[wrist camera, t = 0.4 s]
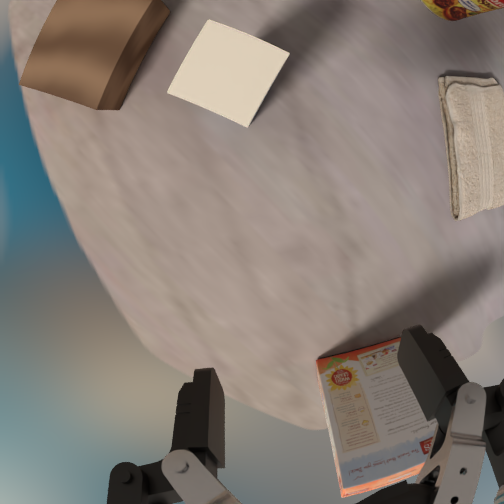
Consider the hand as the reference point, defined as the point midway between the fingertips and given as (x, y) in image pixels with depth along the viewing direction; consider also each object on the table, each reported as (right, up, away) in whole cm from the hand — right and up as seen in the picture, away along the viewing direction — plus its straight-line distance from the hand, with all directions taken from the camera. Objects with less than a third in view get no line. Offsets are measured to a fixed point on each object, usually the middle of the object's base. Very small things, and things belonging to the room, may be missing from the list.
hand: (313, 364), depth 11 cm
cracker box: (+14, -12, +29) cm, 35 cm away
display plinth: (-19, +27, +10) cm, 34 cm away
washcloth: (+26, +18, +15) cm, 35 cm away
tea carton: (-4, +20, +14) cm, 24 cm away
